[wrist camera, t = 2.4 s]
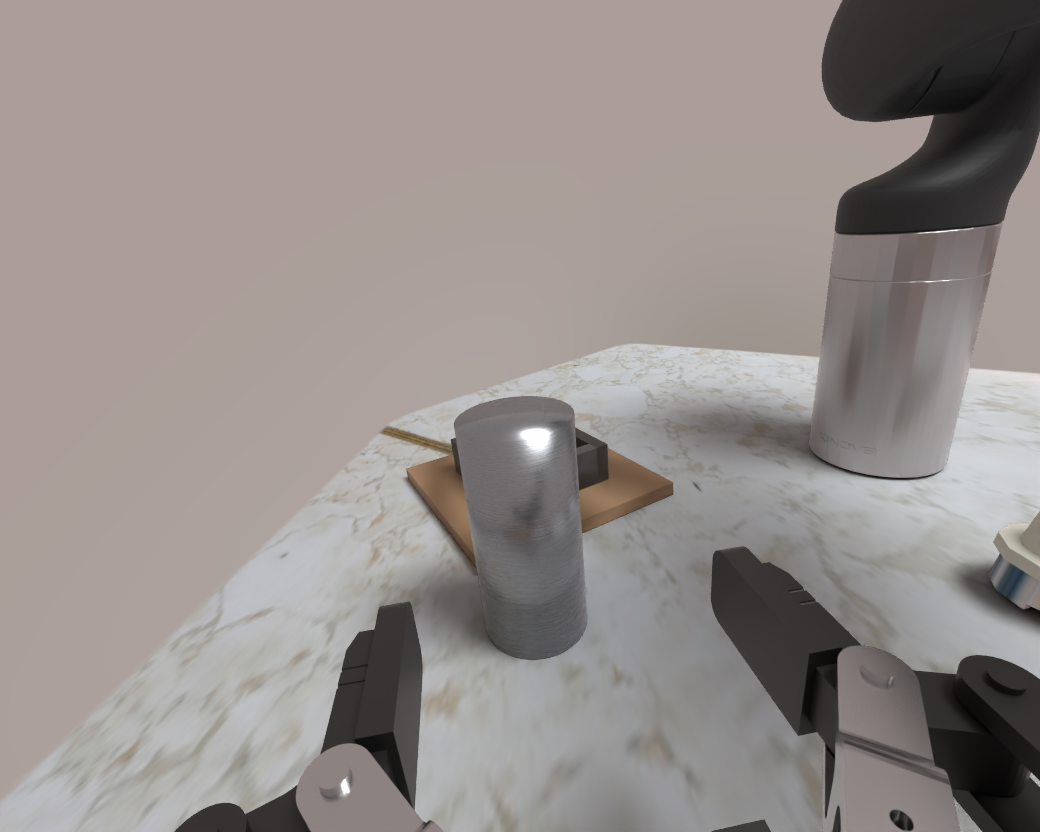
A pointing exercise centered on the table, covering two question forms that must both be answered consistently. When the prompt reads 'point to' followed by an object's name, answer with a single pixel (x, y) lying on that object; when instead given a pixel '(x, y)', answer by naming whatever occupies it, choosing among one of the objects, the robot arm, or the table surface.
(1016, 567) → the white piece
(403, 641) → the robot arm
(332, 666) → the table surface
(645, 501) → the wooden board with frame
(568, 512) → the grey metal cylinder
